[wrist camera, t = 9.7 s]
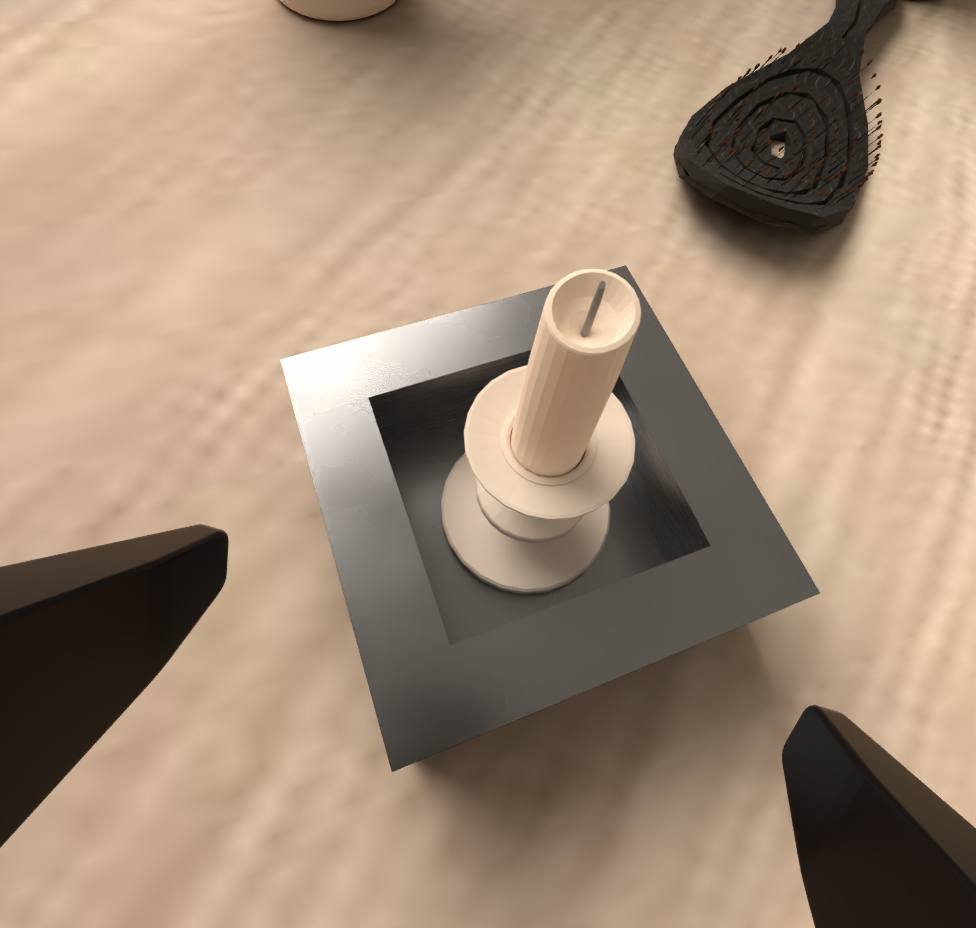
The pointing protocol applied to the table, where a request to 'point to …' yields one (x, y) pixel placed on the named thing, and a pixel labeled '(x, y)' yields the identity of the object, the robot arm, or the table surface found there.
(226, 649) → the table surface
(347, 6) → the coffee cup
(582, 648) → the socket block
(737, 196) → the hairbrush
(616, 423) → the candle
